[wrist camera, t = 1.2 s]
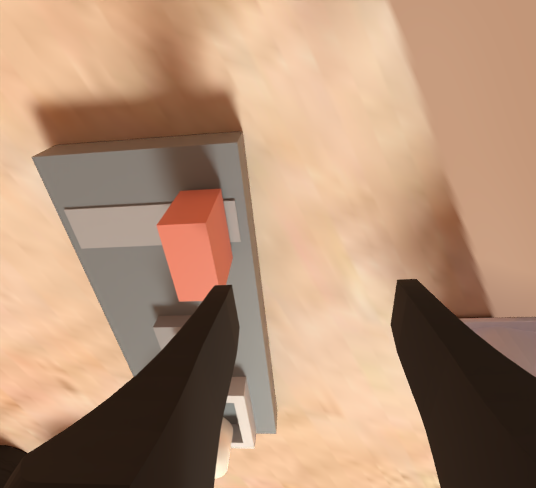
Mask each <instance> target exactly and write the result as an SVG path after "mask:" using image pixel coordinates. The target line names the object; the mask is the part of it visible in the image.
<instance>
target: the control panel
mask: <svg viewBox="0 0 536 488" xmlns="http://www.w3.org/2000/svg"><path fill="white" fill-rule="evenodd" d="M32 159H33V161H34V163H35V165H36V168H37V170H38V172H39V174H40V176H41V178H42V181H43V183H44V185H45V187H46V189H47V191H48V193H49V196H50V198H51V200H52V202H53V204H54V206H55V208H56V211H57V213H58V215H59V217H60V219H61V221H62V224H63V226H64V228H65V230H66V232H67V234H68V236H69V239H70V241H71V243H72V245H73V247H74V249H75V251H76V254H77V256H78V258H79V260H80V262H81V264H82V267H83V269H84V271H85V273H86V275H87V277H88V279H89V282H90V284H91V286H92V288H93V290H94V292H95V294H96V297H97V299H98V301H99V303H100V305H101V307H102V309H103V312H104V314H105V316H106V318H107V320H108V322H109V325H110V327H111V329H112V331H113V333H114V335H115V337H116V340H117V342H118V344H119V346H120V348H121V350H122V352H123V355H124V357H125V359H126V361H127V363H128V365H129V368H130V370H131V372H132V374H133V376H136V375H137V374H138V373H139V372H140V371H141V370H142V369H143V368H144V367H145V366H146V365H147V364H148V363H149V362H150V361H151V360H152V359H153V358H154V357H155V356H156V355H157V354H158V353H159V352H160V351H161V350H162V349H163V348H164V347H165V346H166V345H167V344H168V342H169V341H170V340H171V339H172V338H173V337H174V336H175V335H176V334H177V332H178V331H179V330H180V329H181V328H182V326H183V325H184V324H185V323H186V322H187V320H188V319H189V318H190V317H191V315H192V314H193V313H194V312H195V310H196V309H197V308H198V306H199V305H200V304H201V302H202V301H181V302H179V300H178V296H177V293H176V290H175V286H174V283H173V279H172V276H171V273H170V269H169V266H168V263H167V259H166V256H165V253H164V249H163V246H162V243H161V239H160V236H159V233H158V229H157V226H156V225H157V224H158V222H159V221H160V219H161V218H162V217H163V215H164V214H165V212H166V211H167V209H168V208H169V206H170V205H171V203H172V202H173V201H174V199H175V198H176V196H177V195H178V193H179V192H180V191H187V190H204V189H221V191H222V197H223V203H224V209H225V215H226V221H227V226H228V232H229V238H230V244H231V250H232V256H233V259H232V263H231V267H230V271H229V275H228V279H227V283H226V285H232V288H233V293H234V299H235V304H236V310H237V315H238V321H239V326H240V329H239V340H238V349H237V356H236V361H235V365H234V370H233V375H232V379H231V383H230V388H229V392H228V397H227V401H226V406H225V410H224V414H223V417H224V418H225V419H227V420H228V421H229V422H230V423H231V425H232V427H233V436H232V442H231V448H252V449H255V439H256V433H258V434H276V428H277V405H276V397H275V389H274V381H273V373H272V365H271V357H270V349H269V341H268V333H267V324H266V316H265V308H264V300H263V292H262V284H261V276H260V268H259V260H258V252H257V243H256V235H255V227H254V219H253V211H252V203H251V195H250V187H249V179H248V171H247V162H246V154H245V146H244V138H243V131H239V132H225V133H212V134H199V135H185V136H172V137H158V138H145V139H131V140H118V141H104V142H91V143H78V144H64V145H55V146H53V147H51V148H49V149H47V150H45V151H43V152H41V153H39V154H37V155H35V156H33V157H32Z"/></svg>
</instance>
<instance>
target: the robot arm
mask: <svg viewBox="0 0 536 488" xmlns="http://www.w3.org/2000/svg"><path fill="white" fill-rule="evenodd" d="M391 328H392V332H393V337H394V341H395V345H396V349H397V353H398V356H399V359H400V361H401V364H402V367H403V369H404V372H405V375H406V378H407V380H408V383H409V386H410V388H411V391H412V394H413V396H414V399H415V402H416V404H417V407H418V410H419V412H420V415H421V418H422V421H423V424H424V427H425V430H426V433H427V437H428V441H429V444H430V448H431V452H432V455H433V459H434V463H435V467H436V471H437V475H438V479H439V483H440V487H441V488H536V317H512V318H511V317H507V318H458V317H456V316H455V315H454V314H453V313H452V312H451V311H450V310H449V309H448V308H447V307H445V306H444V305H443V304H442V303H441V302H440V301H439V300H438V299H437V298H436V297H435V296H434V295H433V294H432V293H431V292H430V291H428V290H427V289H426V288H425V287H424V286H423V285H422V284H421V283H420V282H419V281H418V280H417V279H405V280H397V285H396V292H395V299H394V305H393V312H392V319H391ZM239 329H240V326H239V321H238V315H237V310H236V304H235V299H234V293H233V288H232V285H215V286H214V287H213V288H212V289H211V290H210V292H209V293H208V294H207V296H206V297H205V298H204V300H203V301H202V302H201V304H200V305H199V306H198V308H197V309H196V310H195V312H194V313H193V314H192V315H191V317H190V318H189V319H188V320H187V322H186V323H185V324H184V325H183V326H182V328H181V329H180V330H179V331H178V332H177V334H176V335H175V336H174V337H173V338H172V339H171V340H170V341H169V342H168V344H167V345H166V346H165V347H164V348H163V349H162V350H161V351H160V352H159V353H158V354H157V355H156V356H155V357H154V358H153V359H152V360H151V361H150V362H149V363H148V364H147V365H146V366H145V367H144V368H143V369H142V370H141V371H140V372H139V373H138V374H137V375H136V376H134V377H133V378H132V379H131V380H130V381H129V382H127V383H126V384H125V385H124V386H123V387H121V388H120V389H119V390H118V391H117V392H115V393H114V394H113V395H112V396H111V397H109V398H108V399H107V400H106V401H104V402H103V403H102V404H100V405H99V406H98V407H96V408H95V409H94V410H92V411H91V412H90V413H88V414H87V415H85V416H84V417H83V418H81V419H80V420H78V421H77V422H76V423H74V424H73V425H71V426H70V427H68V428H67V429H65V430H64V431H62V432H61V433H59V434H58V435H56V436H55V437H53V438H51V439H50V440H48V441H47V442H45V443H44V444H42V445H41V446H39V447H37V448H36V449H34V450H33V451H31V452H29V453H28V454H26V455H25V456H24V457H23V458H22V460H21V461H20V463H19V464H18V466H17V467H16V469H15V470H14V472H13V473H12V475H11V476H10V478H9V479H8V481H7V483H6V484H5V486H4V488H214V480H215V471H216V463H217V455H218V447H219V439H220V431H221V425H222V420H223V414H224V410H225V406H226V401H227V397H228V392H229V388H230V383H231V379H232V375H233V370H234V365H235V361H236V356H237V349H238V340H239Z"/></svg>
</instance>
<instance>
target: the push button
mask: <svg viewBox="0 0 536 488" xmlns="http://www.w3.org/2000/svg"><path fill="white" fill-rule="evenodd" d="M232 436H233V427H232V425H231V423H230V422H229V421H228V420H227V419H225V418H224V417H223V420H222V425H221V431H220V439H219V447H218V455H217V463H216V471H215V479H216V478H219V477H221V476H223V475H224V474H225V473H226V472H227V470H228V463H229V456H230V449H231V442H232Z"/></svg>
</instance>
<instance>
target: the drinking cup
mask: <svg viewBox="0 0 536 488" xmlns="http://www.w3.org/2000/svg"><path fill="white" fill-rule="evenodd" d="M26 454H27V453H25V452H23V451H21V450H19V449H16V448H13V447H9V446H2V445H0V488H4V486H5V484H6V483H7V481H8V479H9V478H10V476H11V475H12V473H13V472H14V470H15V469H16V467H17V466H18V464H19V463H20V461H21V460H22V458H23V457H24V456H25V455H26Z"/></svg>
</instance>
